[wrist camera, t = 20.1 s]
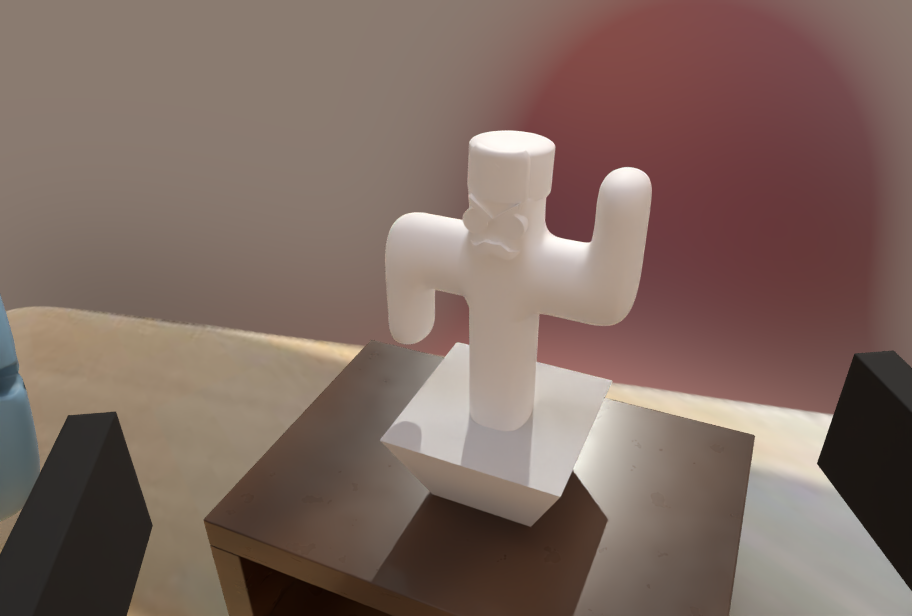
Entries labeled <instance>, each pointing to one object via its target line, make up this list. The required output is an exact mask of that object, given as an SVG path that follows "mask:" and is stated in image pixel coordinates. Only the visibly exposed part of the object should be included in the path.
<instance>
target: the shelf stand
mask: <svg viewBox="0 0 912 616" xmlns="http://www.w3.org/2000/svg"><path fill="white" fill-rule="evenodd" d="M443 359H444V358H443V357H439V356H435V355H431V354H427V353H423V352H419V351H415V350H411V349H407V348H402V347H399V346H395V345H391V344H387V343H383V342H379V341H375V340H371V341H370V342H369V343H368V344H367V345H366V346H365V347H364V348H363V349H362V350H361V351H360V353H359V354H358V355H357V356H356V357H355V358H354V359H353V360H352V361H351V362H350V363H349V364H348V365H347V366H346V368H345V369H344V370H343V371H342V372H341V373H340V374H339V375H338V376H337V377H336V378H335V379H334V380H333V381H332V382H331V384H330V385H329V386H328V387H327V388H326V389H325V390H324V391H323V392H322V393H321V394H320V395H319V396H318V397H317V399H316V400H315V401H314V402H313V403H312V404H311V405H310V406H309V407H308V408H307V409H306V410H305V411H304V412H303V414H302V415H301V416H300V417H299V418H298V419H297V420H296V421H295V422H294V423H293V424H292V425H291V426H290V427H289V429H288V430H287V431H286V432H285V433H284V434H283V435H282V436H281V437H280V438H279V439H278V440H277V441H276V442H275V444H274V445H273V446H272V447H271V448H270V449H269V450H268V451H267V452H266V453H265V454H264V455H263V456H262V457H261V459H260V460H259V461H258V462H257V463H256V464H255V465H254V466H253V467H252V468H251V469H250V470H249V471H248V472H247V474H246V475H245V476H244V477H243V478H242V479H241V480H240V481H239V482H238V483H237V484H236V485H235V486H234V487H233V489H232V490H231V491H230V492H229V493H228V494H227V495H226V496H225V497H224V498H223V499H222V500H221V501H220V502H219V504H218V505H217V506H216V507H215V508H214V509H213V510H212V511H211V512H210V513H209V514H208V515H207V516H206V517H205V519H204V524H205V528H206V532H207V535H208V539H209V543H210V544H211V545H210V547H211V550H212V554H213V558H214V561H215V565H216V569H217V573H218V576H219V580H220V584H221V587H222V591H223V595H224V599H225V602H226V606H227V610H228V613H229V616H729V612H730V605H731V599H732V592H733V585H734V578H735V571H736V564H737V557H738V550H739V543H740V536H741V529H742V522H743V515H744V508H745V502H746V495H747V488H748V481H749V474H750V467H751V460H752V453H753V446H754V439H755V436H754V435H752V434H748V433H744V432H740V431H736V430H732V429H728V428H724V427H720V426H716V425H712V424H708V423H704V422H700V421H696V420H692V419H688V418H684V417H680V416H676V415H672V414H668V413H664V412H660V411H656V410H652V409H648V408H644V407H640V406H636V405H632V404H628V403H624V402H620V401H616V400H611V399H607V398H605V399H604V401H603V403H602V405H601V407H600V410H599V412H598V414H597V416H596V419H595V421H594V423H593V425H592V428H591V430H590V432H589V434H588V437H587V439H586V441H585V443H584V446H583V448H582V450H581V452H580V455H579V457H578V459H577V461H576V464H575V466H574V468H573V470H572V473H571V475H570V477H569V479H568V481H567V484H566V486H565V488H564V490H563V493H562V495H561V497H560V498H559V499H558V500H557V501H556V502H555V503H554V504H553V505H552V506H551V507H550V508H549V509H548V510H547V511H546V512H545V513H544V514H543V515H542V516H541V517H540V518H539V519H538V520H537V521H536V522H535V523H534V524H533V525H532V526H531V527H530V526H527V525H524V524H521V523H518V522H515V521H512V520H509V519H506V518H503V517H500V516H497V515H494V514H491V513H488V512H485V511H482V510H479V509H476V508H473V507H470V506H467V505H464V504H461V503H458V502H455V501H452V500H448V499H445V498H442V497H439V496H436V495H433V494H432V493H431V492H430V491H429V490H428V489H427V488H426V487H425V486H424V485H423V484H422V483H421V482H420V481H419V480H418V479H417V478H416V477H415V476H414V475H413V474H412V473H411V472H410V471H409V470H408V469H407V468H406V467H405V466H404V465H403V464H402V463H401V462H400V461H399V460H398V459H397V457H396V456H395V455H394V454H393V453H392V452H391V451H390V450H389V449H388V448H387V447H386V446H385V445H384V444H383V443H382V442H381V441H380V439H381V438H382V437H383V436H384V434H385V433H386V432H387V430H388V429H389V428H390V427H391V425H392V424H393V423H394V422H395V420H396V419H397V418H398V416H399V415H400V414H401V413H402V411H403V410H404V409H405V408H406V406H407V405H408V404H409V402H410V401H411V400H412V399H413V397H414V396H415V395H416V394H417V392H418V391H419V390H420V388H421V387H422V386H423V385H424V383H425V382H426V381H427V380H428V378H429V377H430V376H431V374H432V373H433V372H434V371H435V369H436V368H437V367H438V366H439V364H440V363H441V362H442V360H443Z"/></svg>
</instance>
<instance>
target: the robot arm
mask: <svg viewBox="0 0 912 616" xmlns="http://www.w3.org/2000/svg"><path fill="white" fill-rule="evenodd" d="M18 371H19V363H18V359H17V356H16V351H15V344H14V339H13V336H12V332H11V328H10V325H9V321H8V318H7V315H6V311H5V308H4V305H3V301H2V298H1V295H0V522H1V521H3V520H5V519H7V518H9V517H11V516H13V515H14V514H16V513H17V512H18V511H20V510H21V509H22V508H23V509H22V511H21V513H20V515H19V517H18V519H17V521H16V523H15V525H14V527H13V529H12V531H11V533H10V535H9V537H8V539H7V541H6V543H5V546H4V548H3V550H2V552H1V554H0V616H127V612H128V609H129V606H130V602H131V599H132V595H133V592H134V588H135V585H136V581H137V578H138V574H139V571H140V568H141V564H142V561H143V557H144V554H145V550H146V547H147V543H148V540H149V536H150V533H151V529H152V526H153V525H152V522H151V519H150V516H149V513H148V510H147V507H146V503H145V500H144V497H143V494H142V491H141V488H140V485H139V482H138V479H137V476H136V472H135V469H134V466H133V463H132V460H131V457H130V454H129V451H128V448H127V445H126V441H125V438H124V435H123V432H122V429H121V426H120V423H119V420H118V417H117V413H116V412H106V413H93V414H81V415H68V417H67V419H66V421H65V423H64V425H63V427H62V429H61V431H60V433H59V435H58V437H57V439H56V441H55V443H54V446H53V448H52V450H51V452H50V454H49V456H48V458H47V460H46V462H45V464H44V466H43V468H42V470H41V472H40V459H39V450H38V443H37V437H36V432H35V426H34V421H33V416H32V412H31V407H30V403H29V399H28V395H27V391H26V388H25V385H24V382H23V379H22V377H21V376H20V375H19V373H18ZM817 464H818V466H819V467H820V468H821V470H822V471H823V472H824V474H825V475H826V476H827V478H828V479H829V480H830V482H831V483H832V485H833V486H834V487H835V489H836V490H837V491H838V493H839V494H840V495H841V497H842V498H843V499H844V501H845V502H846V503H847V505H848V506H849V507H850V509H851V510H852V511H853V513H854V514H855V515H856V517H857V518H858V519H859V521H860V522H861V524H862V525H863V526H864V528H865V529H866V530H867V532H868V533H869V534H870V536H871V537H872V538H873V540H874V541H875V542H876V544H877V545H878V546H879V548H880V549H881V550H882V552H883V553H884V554H885V556H886V557H887V559H888V560H889V561H890V563H891V564H892V565H893V567H894V568H895V569H896V571H897V572H898V573H899V575H900V576H901V577H902V579H903V580H904V581H905V583H906V584H907V585H908V587H909V588H910V589H911V591H912V368H911V367H910V366H909V365H908V364H907V363H906V362H905V361H904V360H903V359H902V358H901V357H900V356H899V355H897V353H895V352H894V351H882V352H870V353H857V354H854V357H853V360H852V363H851V366H850V368H849V371H848V374H847V377H846V380H845V384H844V386H843V389H842V392H841V395H840V398H839V401H838V404H837V407H836V410H835V412H834V415H833V418H832V421H831V424H830V427H829V430H828V433H827V436H826V439H825V442H824V445H823V448H822V451H821V454H820V456H819V459H818V462H817Z"/></svg>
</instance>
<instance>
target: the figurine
mask: <svg viewBox="0 0 912 616" xmlns="http://www.w3.org/2000/svg"><path fill="white" fill-rule="evenodd" d="M554 154H555V145H554V143H553V142H552V141H551V140H549V139H547V138H545V137H543V136H540V135H537V134H533V133H528V132H521V131H492V132H486V133H482V134H479V135H477V136H475V137H473V138H472V139H471V140H470V142H469V159H468V180H467V186H468V194H469V196H468V198H469V209H468V210H467V211H466V212H465V213H464V214H463V220H459V219H454V218H449V217H443V216H438V215H432V214H427V213H418V212H416V213H409V214H405V215H403V216H401V217H400V218H398V219H397V220H396V221H395V223H394V224H393V225H392V227H391V229H390V231H389V234H388V238H387V242H386V251H385V272H386V287H387V302H388V317H389V328H390V332H391V335H392V337H393V338H394V339H395V340H396V341H397V342H399V343H402V344H414V343H417V342H419V341H421V340H422V339H424V338H425V337H426V336H427V335H428V334H429V333H430V331H431V329H432V327H433V324H434V320H435V290H439V291H444V292H448V293H453V294H457V295H462V296H464V298H465V299H466V301H467V303H468V306H469V308H470V310H469V316H470V317H469V320H470V321H469V325H470V326H469V334H470V335H469V336H470V337H469V345H467V344H463V343H459V342H457V343H456V344H455V345H454V347H453V348H452V349H451V350H450V352H449V353H448V354H447V355H446V357H445V358H444V359H443V360H442V362H441V363H440V364H439V366H438V367H437V368H436V369H435V371H434V372H433V373H432V374H431V376H430V377H429V378H428V380H427V381H426V382H425V383H424V385H423V386H422V387H421V388H420V390H419V391H418V392H417V394H416V395H415V396H414V397H413V399H412V400H411V401H410V402H409V404H408V405H407V406H406V408H405V409H404V410H403V411H402V413H401V414H400V415H399V416H398V418H397V419H396V420H395V422H394V423H393V424H392V425H391V427H390V428H389V429H388V430H387V432H386V433H385V434H384V436H383V437H382V438H381V439H380V441H381V442H382V443H383V444H384V445H385V446H386V447H387V448H388V449H389V450H390V451H391V452H392V453H393V454H394V455H395V456H396V457H397V459H398V460H399V461H400V462H401V463H402V464H403V465H404V466H405V467H406V468H407V469H408V470H409V471H410V472H411V473H412V474H413V475H414V476H415V477H416V478H417V479H418V480H419V481H420V482H421V483H422V484H423V485H424V486H425V487H426V488H427V489H428V490H429V491H430V492H431V493H432V494H433V495H436V496H439V497H442V498H445V499H448V500H452V501H455V502H458V503H461V504H464V505H467V506H470V507H473V508H476V509H479V510H482V511H485V512H488V513H491V514H494V515H497V516H500V517H503V518H506V519H509V520H512V521H515V522H518V523H521V524H524V525H527V526H530V527H531V526H532V525H533V524H534V523H535V522H536V521H537V520H538V519H539V518H540V517H541V516H542V515H543V514H544V513H545V512H546V511H547V510H548V509H549V508H550V507H551V506H552V505H553V504H554V503H555V502H556V501H557V500H558V499H559V498H560V497H561V495H562V493H563V490H564V488H565V486H566V484H567V481H568V479H569V477H570V475H571V473H572V470H573V468H574V466H575V464H576V461H577V459H578V457H579V455H580V452H581V450H582V448H583V446H584V443H585V441H586V439H587V437H588V434H589V432H590V430H591V428H592V425H593V423H594V421H595V419H596V416H597V414H598V412H599V410H600V407H601V405H602V403H603V401H604V399H605V396H606V394H607V392H608V390H609V387H610V385H611V383H612V381H611V380H607V379H604V378H599V377H596V376H592V375H587V374H583V373H579V372H575V371H571V370H567V369H563V368H559V367H555V366H551V365H547V364H543V363H539V362H536V359H537V343H538V325H539V314H546V315H551V316H555V317H560V318H564V319H569V320H573V321H578V322H582V323H586V324H591V325H597V326H609V325H614V324H617V323H619V322H620V321H621V320H623V319H624V318H625V317H626V316H627V314H628V313H629V311H630V309H631V308H632V305H633V303H634V300H635V297H636V293H637V290H638V286H639V281H640V276H641V270H642V263H643V255H644V249H645V242H646V234H647V227H648V220H649V213H650V205H651V195H652V187H651V183H650V179H649V177H648V176H647V175H646V173H644V172H643V171H641V170H639V169H636V168H630V167H625V168H619V169H617V170H614V171H612V172H611V173H610V174H608V176H607V177H606V178H605V179H604V181H603V183H602V184H601V187H600V190H599V195H598V200H597V209H596V218H595V227H594V233H593V238H592V241H591V242H590V243H583V242H577V241H573V240H567V239H562V238H558V237H556V236H554V235H552V234H551V233H550V232H549V231H548V229H547V227H546V224H545V205H546V196H548V195H549V193H550V192H551V185H552V175H553V164H554Z"/></svg>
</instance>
